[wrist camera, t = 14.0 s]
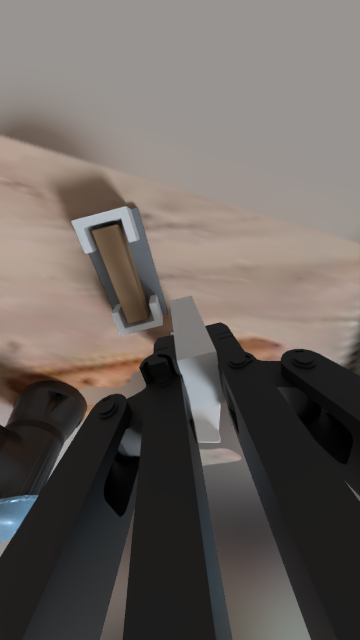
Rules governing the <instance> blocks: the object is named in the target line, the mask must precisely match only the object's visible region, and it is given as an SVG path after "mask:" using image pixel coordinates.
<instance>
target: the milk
mask: <svg viewBox="0 0 360 640" xmlns="http://www.w3.org/2000/svg"><path fill="white" fill-rule="evenodd" d="M170 335H174V333H173V332H170ZM191 411H192V416H193V419H194V423H195V428H196V434H197V440H198V442H211V443H213V442H214V443H219V442H221V438H220V434H219V417H220V403H219V404H214V405H210V406H206V407H202V408H198V409H194V410H191Z"/></svg>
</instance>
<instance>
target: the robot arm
mask: <svg viewBox="0 0 360 640" xmlns="http://www.w3.org/2000/svg"><path fill="white" fill-rule="evenodd" d="M170 307H171V316H172V324H173V333H174V335H170V336H166V337H162V338H158V339H157V341H156V342H155V344H154V352H153V354H152V355H150V356H149V357H147V358H146V359H145V360H144V361H143V362H142V363H141V365H140V367H139V368H140V371H141V373H142V375H143V378H144V380H145V382H146V388H145V389H144V390H142V391H141V392H139V393H137V394H136V395H134V396H132V397H130V398H128V399H126V397H124V396H123V395H122V394H113V395H109V396H107V397H105V398H103V399H102V400H100V401H99V402H98V403H97V404H96V405H95V406H94V407H93V409H92V410H91V411H90V413H89V415H88V416H87V418H86V420H85V421H84V423H83V424H82V426H81V428H80V429H79V431H78V432H77V434H76V436H75V437H74V439H73V441H72V442H71V444H70V445H69V447H68V449H67V450H66V452H65V453H64V455H63V457H62V458H61V460H60V462H59V463H58V465H57V466H56V468H55V470H54V471H53V473H52V474H51V471H52V469H53V467H54V465H55V462H56V460H57V458H58V456H59V453H60V451H61V449H62V447H63V444H64V442H65V441H66V440H67V439H68V437H69V436H70V435H71V434H72V433H73V431H74V430H75V428H77V427H78V426H79V424H80V423H81V422H82V420H83V418H84V416H85V413H86V410H87V403H86V401H85V398H84V397H83V396H82V394H81V393H80V392H79V391H77V390H76V389H75V388H73V387H71V386H69V385H67V384H64V383H60V382H54V381H42V382H37V383H34V384H31V385H30V386H28V387H27V388H25V389H24V390H23V392H22V393H21V394H20V395H19V396H18V398H17V399H16V401H15V404H14V408H13V411H12V413H11V415H10V418H9V420H8V423H7V425H6V426H5V428H4V427H3V426H1V425H0V543H2V542H4V541H7V540H9V539H11V538H12V539H11V541H10V542H9V544H8V545H7V547H6V549H5V550H4V552H3V554H2V555H1V557H0V640H100V636H101V633H102V629H103V625H104V621H105V618H106V614H107V610H108V606H109V603H110V598H111V595H112V591H113V587H114V584H115V580H116V576H117V572H118V568H119V565H120V561H121V557H122V553H123V549H124V546H125V542H126V538H127V534H128V530H129V527H130V523H131V519H132V515H133V511H134V508H135V513H134V523H133V534H132V546H131V557H130V567H129V578H128V588H127V600H126V611H125V621H124V632H123V640H232V635H231V629H230V624H229V618H228V612H227V607H226V601H225V595H224V589H223V583H222V578H221V572H220V566H219V561H218V555H217V549H216V543H215V537H214V532H213V526H212V520H211V515H210V509H209V503H208V497H207V492H206V486H205V480H204V474H203V469H202V463H201V457H200V451H199V446H198V440H197V434H196V428H195V423H194V419H193V416H192V411H191V410H194V409H198V408H202V407H206V406H210V405H214V404H219V403H223V402H225V399H226V402H227V405H228V411H229V416H230V422H231V425H233V426H234V429H235V431H236V434H237V437H238V439H239V442H240V445H241V448H242V450H243V453H244V456H245V459H246V462H247V464H248V467H249V470H250V472H251V475H252V478H253V481H254V483H255V486H256V489H257V491H258V495H259V497H260V500H261V503H262V506H263V508H264V511H265V514H266V517H267V519H268V522H269V525H270V528H271V531H272V533H273V536H274V539H275V541H276V544H277V547H278V550H279V552H280V555H281V558H282V561H283V564H284V566H285V569H286V572H287V575H288V577H289V580H290V583H291V586H292V588H293V591H294V594H295V597H296V599H297V602H298V605H299V608H300V610H301V613H302V616H303V618H304V621H305V624H306V627H307V629H308V632H309V635H310V638H311V640H360V501H359V500H358V499H357V497H356V496H355V495H354V493H353V492H352V490H351V489H350V488H349V486H348V485H347V483H348V484H349V485H350V487H351V488H353V489H354V491H355V492H356V493H357V494H358V495H359V496H360V376H359V375H357V374H355V373H353V372H352V371H350V370H348V369H346V368H344V367H342V366H340V365H339V364H337V363H335V362H333V361H331V360H329V359H328V358H326V357H324V356H322V355H320V354H318V353H316V352H313V351H310V350H305V349H293V350H290V351H287V352H285V353H284V354H283V355H282V357H281V361H261V360H257V359H256V358H255V357H254V356H253V355H252V354H250V353H247V352H245V351H244V350H243V349H242V347H241V346H240V344H239V343H238V341H237V340H236V338H235V337H234V336H233V334H232V332H231V331H230V329H229V328H228V326H227V325H225V324H223V323H221V322H220V323H216V324H212V325H208V326H205V325H204V323H203V321H202V318H201V316H200V314H199V312H198V310H197V307H196V305H195V303H194V301H193V298H192V296H188V297H184V298H180V299H176V300H172V301H170ZM50 474H51V476H50ZM49 476H50V478H49ZM48 478H49V479H48ZM47 480H48V481H47ZM344 480H345V481H346V482H347V483H346V482H345V481H344Z"/></svg>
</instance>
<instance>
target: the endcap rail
mask: <svg viewBox="0 0 360 640" xmlns="http://www.w3.org/2000/svg"><path fill="white" fill-rule="evenodd" d="M71 222H72V224H73V227H74V229H75V231H76V234H77V236H78V238H79V240H80V243H81V245H82V247H83V250H84V252H85V254H87V253H89V254H90V256H91V259H92V261H93V264H94V266H95V268H96V271H97V273H98V275H99V278H100V280H101V282H102V285H103V287H104V290H105V292H106V294H107V297H108V299H109V301H110V304H111V306H112V309H113V311H112V313H111V315H112V317H113V319H114V322H115V324H116V326H117V329H118V331H119V333H120V336H122V335H126V334H130V333H134V332H138V331H142V330H146V329H150V328H154V327H158V326H162V325H163V315H165V314H168V311H167V308H166V304H165V301H164V297H163V294H162V291H161V287H160V284H159V280H158V277H157V273H156V270H155V266H154V263H153V259H152V256H151V252H150V249H149V245H148V242H147V238H146V235H145V231H144V228H143V224H142V221H141V217H140V214H139V210H138V208H133V209H130V208H128V207H127V206H125V207H121V208H117V209H114V210H110V211H106V212H102V213H98V214H95V215H91V216H87V217H83V218H80V219H76V220H72V221H71ZM113 225H123V228H124V232H125V235H126V238H127V241H128V244H129V247H130V250H131V253H132V256H133V259H134V262H135V265H136V268H137V272H138V275H139V278H140V281H141V284H142V287H143V290H144V293H145V296H146V299H147V302H148V305H149V314H148V319H145V320H141V321H137V322H133V323H129V324H128V322H127V319H126V317H125V314H124V312H123V309H122V306H121V304H120V301H119V299H118V296H117V294H116V291H115V289H114V286H113V284H112V281H111V278H110V276H109V273H108V271H107V268H106V266H105V263H104V261H103V258H102V256H101V253H100V251H99V248H98V245H97V243H96V240H95V238H94V235H93V233H92V231H93V230H97V229H101V228H105V227H109V226H113Z"/></svg>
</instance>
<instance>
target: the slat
mask: <svg viewBox="0 0 360 640" xmlns="http://www.w3.org/2000/svg"><path fill="white" fill-rule="evenodd" d="M92 233H93V235H94V238H95V240H96V243H97V245H98V248H99V251H100V253H101V256H102V258H103V261H104V263H105V266H106V268H107V271H108V273H109V276H110V278H111V281H112V284H113V286H114V289H115V291H116V294H117V296H118V299H119V301H120V304H121V306H122V309H123V312H124V314H125V317H126V319H127V322H128V324H129V323H133V322H137V321H141V320H145V319H148V314H149V305H148V302H147V299H146V296H145V293H144V290H143V287H142V284H141V281H140V278H139V275H138V272H137V268H136V265H135V262H134V259H133V256H132V253H131V250H130V247H129V244H128V241H127V238H126V235H125V232H124V228H123V225H113V226H109V227H105V228H101V229H97V230H93V231H92Z"/></svg>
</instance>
